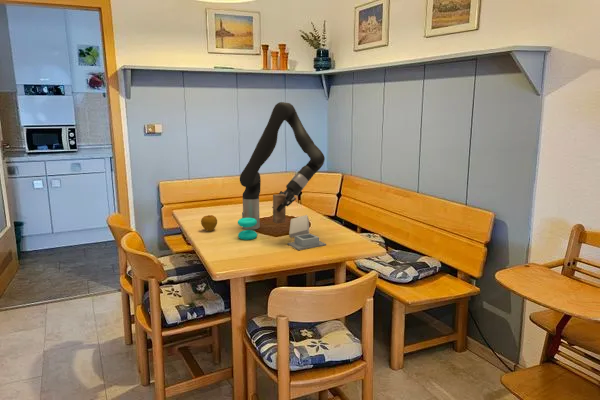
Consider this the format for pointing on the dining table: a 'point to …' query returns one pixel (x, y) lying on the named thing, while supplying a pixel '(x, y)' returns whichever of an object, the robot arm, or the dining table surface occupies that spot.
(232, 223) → the dining table surface
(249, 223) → the donuts
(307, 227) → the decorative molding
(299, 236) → the grey open box
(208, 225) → the apple
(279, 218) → the brown cylinder
